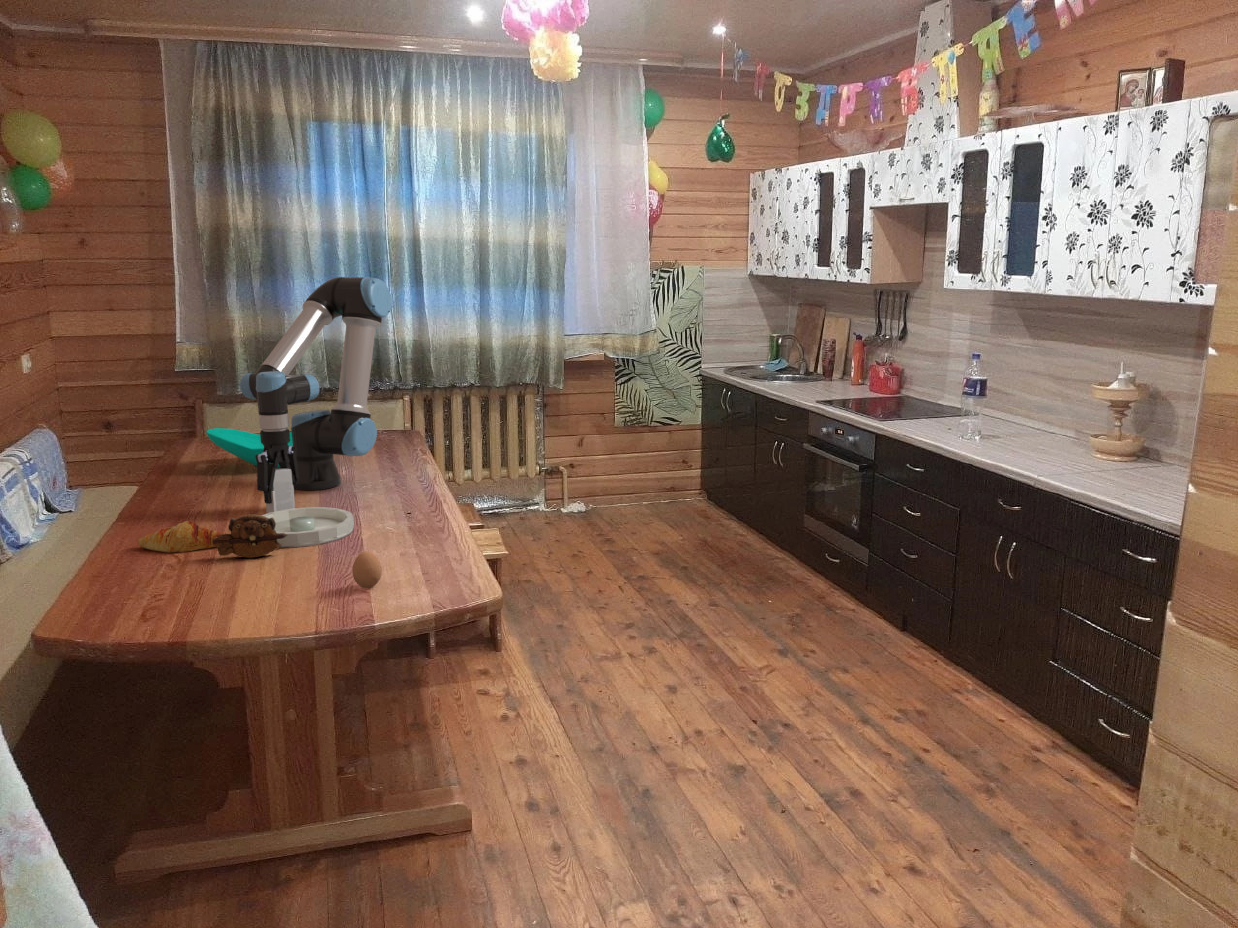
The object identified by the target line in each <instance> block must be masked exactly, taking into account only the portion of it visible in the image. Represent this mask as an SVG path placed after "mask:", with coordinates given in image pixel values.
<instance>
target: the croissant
mask: <svg viewBox="0 0 1238 928" xmlns="http://www.w3.org/2000/svg"><path fill="white" fill-rule="evenodd" d="M222 534H228V533H227V532H226V533H224V532H223V533H221V532H220V531H218V530H214V529H213V530H210V529H209V528H207V527H205V526H202V525H198V524H197V523H195V521H189V520H186V521H183V522H180V523H178V524H176V525H175V526H169V527H164V528H161V529H159V530H158V531H155V532H151V533H148V534H146V535H145V536H143V537H140V538H138V540H137V544H138V546H139V547H142V548H143V549H147V550H150V551H155V552H162V553H169V554H170V553H186V552H193V551H198V550H207V549H211V548H216V546H215V544H213V543H212V540H214V538H216V537H218V536H220V535H222Z"/></svg>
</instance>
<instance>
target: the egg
mask: <svg viewBox="0 0 1238 928" xmlns="http://www.w3.org/2000/svg"><path fill="white" fill-rule="evenodd" d="M351 573H352V577H353V580H354V582H355V583H356V584H357V586H359V587H362V588H365V589H370V588H373V587H374V586H376V585H377V584H378V582H379V581H380V580H381V577H382V565H381V562H380V560H379V559H378V557H377V555H375V554H374V553H372V552H371V551H363V552H361V553H359V554H358V555H357V556H356V557H355V559H354V562H353V564H352V572H351Z"/></svg>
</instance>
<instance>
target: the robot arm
mask: <svg viewBox="0 0 1238 928" xmlns="http://www.w3.org/2000/svg"><path fill="white" fill-rule="evenodd" d="M390 291H391V290H389V288H388V285H387V284H386V283H385V282H384V281H383V280H382V279H380V278H376V277H369V276H363V277H362V276H361V277H357V276H356V277H355V276H354V277H345V276H340V277H339V276H338V277H334V278H331V279H329V280H326V281H325V282H324V283H322V284H321V285H320V286H318V287H317V288H316V289H315V290H314V291H313V292H311V294H310V295H309V296H308V297H307V298H306V299H305V301H304V302H303V304H302V311H301V312H300V314H298V316H297V318H296V319H295V320H294V321H293V323H292V324H291V325H290V327H289V328H288V329H287V331H286V332H285V333H284V335H283V336H282V337H281V339H280V340H279V341H278V342H277V343H276V345H275V346H274V348H273V349H272V350H271V352H270V353H269V355H268V356H267V357H266V359H264V361H263V362H262V364H261V365H260V367H259V368H258V369H257V370H256V372H247V373H246V374H244V375H243V376H242V377H241V380H240V382H239V388H240V392H241V393H242V395H243V396H244V397H245V398H247V399H251V400H256V401H257V411H258V422H259V423H258V424H259V428H260V429H261V430H260V431H259V434H260V438H261V443H262V444H263V445H264V450H263V453H262V454H260V455H259V454H257V455H256V456H255V457H256V461H257V466H256V489H257V491H259V492H263V498H264V504H265V508H266V509H265V511H266V514H267V513H271V512H276V501H275V491H272V489H273V483H274V477H275V470H276V469H277V468H276V467H277V466H278V464H279V466H280V468H286V469H291V473H292V484H293V496H294V497H295V493H296V492H295V491H296V490H297V491H318V490H327V489H331V488H335V487H338V486H340V485H341V484H342V479H341V477H342V476H341V474H340V473H339V470H338V467H337V464H336V462H335V459H334V455H337V456H338V455H339V456H346V457H362V456H365V455H366V454H368V453H369V452H370V451H372V449H373V447H374V445H375V444H376V441H377V437H378V429H377V427H376V422H375V421H373V420H372V419H371V417H372V414H371V412H370V411H369V409H368V408H367V407H368V398H369V397H368V396H369V389H370V378H371V373H372V372H371V370H372V363H373V353H374V346H375V345H374V344H375V335H376V330H377V329H378V328H379V327H381V326H382V320H383V318H385V317H387V316H388V315H389V314H390V313H391V310H392V305H393V298H392V294H391V292H390ZM338 317H341V320H342V322H343V323H344V324H345V332H344V333H345V334H344V342H343V349H342V350H343V351H342V359H341V368H340V375H339V376H340V377H339V386H338V394H337V401H336V402H337V403H336V404H335V405H333V406H332V408H331V409H330V410H329V409H320V410H319V409H318V410H310V411H304V412H299V413H295V414H293V416H292V417H291V421H290V420H289V409H288V408H289V406H288V405H292V404H294V405H295V404H299V403H307V402H310V401H312V400H315V399H316V398H317V397H318V396H319V393H320V383H319V381H318V380H317V378H316V376H314V375H312V374H309V373H308V374H307V373H306V374H305V373H304V374H303V373H300V374H294V375H293V374H291V372H292V370H293V369H295V366H296V365H297V363H298V362H299V361H300V360H301V358H302V357H303V355H305V353H306V352H307V350H308V349H309V348H310V346H311V345H312V343H313V342H314V340H315V339H316V338H317V336H318V335H319V334H320V332H321V331H322V329H323V328H325V326H328V325H330V324H331V323H332V322H333V321H334V319H336V318H338ZM289 421H290V422H291V427H290V422H289ZM289 427H290V430H291V431H290V430H289ZM290 432H292V442H293V446H288V443H289V442H290ZM270 463H273V464H270ZM295 503H296V502H295V500H294V507H295V508H296V504H295Z"/></svg>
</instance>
